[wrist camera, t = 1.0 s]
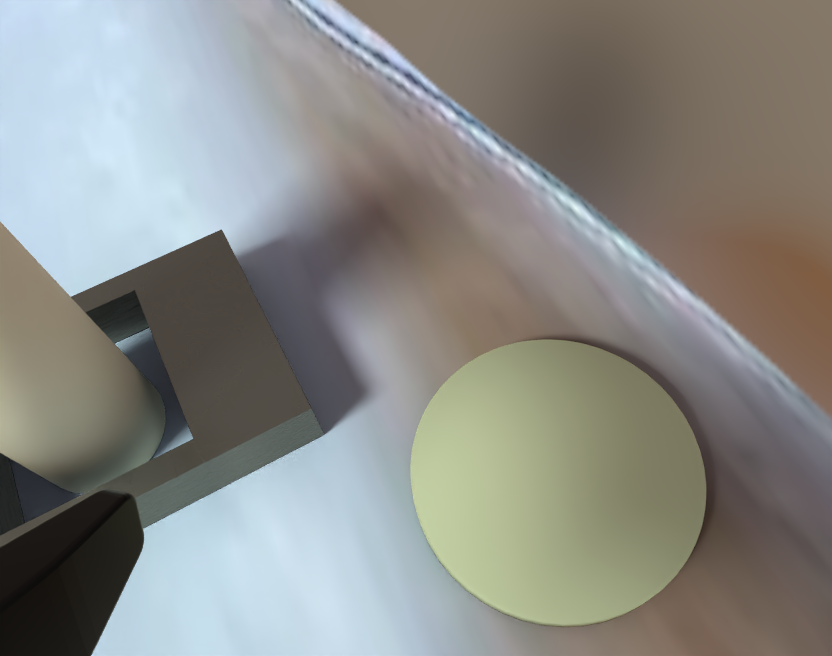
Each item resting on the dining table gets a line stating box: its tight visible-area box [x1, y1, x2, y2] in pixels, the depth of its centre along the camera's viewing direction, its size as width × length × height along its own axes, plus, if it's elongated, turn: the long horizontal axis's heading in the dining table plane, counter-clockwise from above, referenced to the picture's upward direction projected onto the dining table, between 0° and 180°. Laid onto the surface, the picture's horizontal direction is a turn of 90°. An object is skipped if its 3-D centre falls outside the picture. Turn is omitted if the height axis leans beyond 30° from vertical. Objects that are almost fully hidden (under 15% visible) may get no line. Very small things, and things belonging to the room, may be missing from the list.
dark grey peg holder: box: [0, 230, 324, 546], centre depth 26 cm, size 15×9×2 cm, turn 118°
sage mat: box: [411, 339, 706, 627], centre depth 25 cm, size 10×10×1 cm
